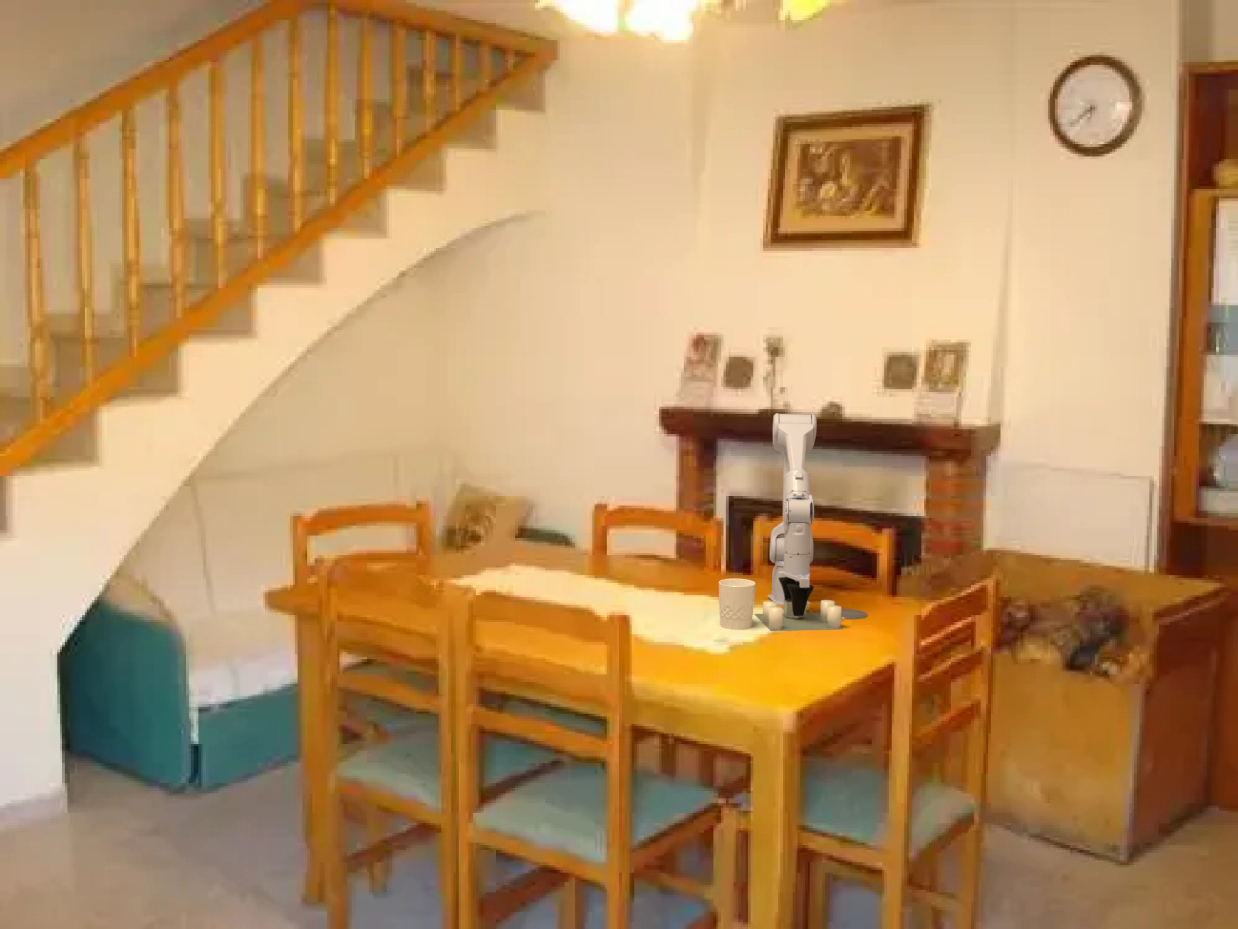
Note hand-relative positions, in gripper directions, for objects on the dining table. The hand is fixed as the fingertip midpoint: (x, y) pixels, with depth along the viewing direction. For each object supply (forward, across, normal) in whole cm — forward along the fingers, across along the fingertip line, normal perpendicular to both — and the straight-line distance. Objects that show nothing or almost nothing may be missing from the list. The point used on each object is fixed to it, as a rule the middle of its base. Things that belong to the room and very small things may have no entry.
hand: (794, 612), depth 314 cm
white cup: (+2, +7, -15) cm, 17 cm away
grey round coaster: (+1, -1, +12) cm, 13 cm away
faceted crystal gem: (+1, 0, 0) cm, 1 cm away
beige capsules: (+1, +7, 0) cm, 7 cm away
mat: (+1, +4, 0) cm, 4 cm away
